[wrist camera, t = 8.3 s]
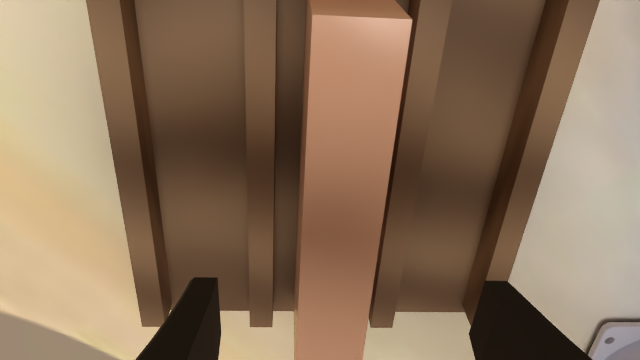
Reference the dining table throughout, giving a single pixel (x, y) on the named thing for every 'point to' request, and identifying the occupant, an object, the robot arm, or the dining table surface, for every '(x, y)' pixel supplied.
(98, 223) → the dining table surface
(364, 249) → the clay block
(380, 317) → the rack
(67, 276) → the dining table surface
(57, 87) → the dining table surface
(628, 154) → the dining table surface
